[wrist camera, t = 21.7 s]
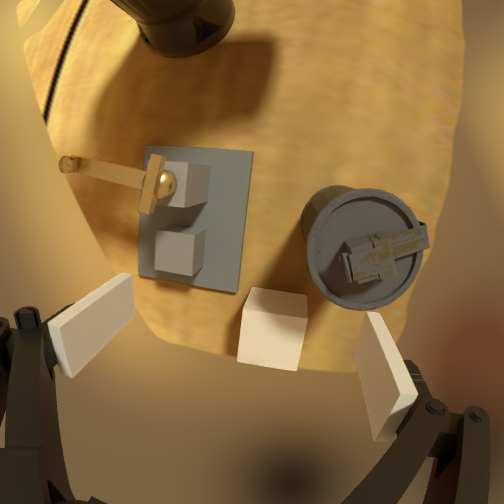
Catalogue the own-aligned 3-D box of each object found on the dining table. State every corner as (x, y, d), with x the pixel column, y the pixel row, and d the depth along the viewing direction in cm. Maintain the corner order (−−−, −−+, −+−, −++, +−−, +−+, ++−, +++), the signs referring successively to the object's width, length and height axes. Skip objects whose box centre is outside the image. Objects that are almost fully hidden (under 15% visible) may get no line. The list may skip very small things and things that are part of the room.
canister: (312, 268, 42) (324, 339, 23) (292, 196, 40) (290, 210, 21) (384, 248, 40) (446, 301, 20) (367, 176, 38) (428, 174, 19)
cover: (252, 286, 44) (242, 308, 36) (306, 294, 43) (308, 318, 35) (246, 333, 46) (236, 361, 38) (296, 341, 45) (296, 371, 37)
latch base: (148, 146, 41) (111, 139, 31) (253, 152, 39) (240, 143, 30) (141, 272, 46) (107, 294, 36) (238, 290, 44) (222, 320, 35)
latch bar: (183, 160, 30) (168, 157, 27) (170, 213, 32) (154, 217, 28) (84, 140, 31) (63, 138, 28) (75, 185, 33) (55, 187, 29)
